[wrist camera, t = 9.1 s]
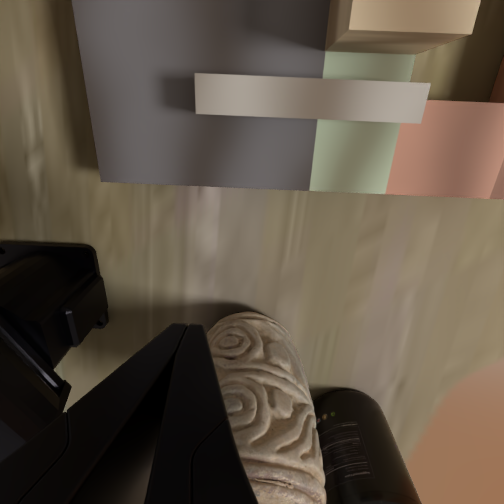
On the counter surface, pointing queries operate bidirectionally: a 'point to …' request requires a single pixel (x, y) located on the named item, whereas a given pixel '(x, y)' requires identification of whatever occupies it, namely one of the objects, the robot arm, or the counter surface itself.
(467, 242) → the counter surface
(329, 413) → the supplement bottle
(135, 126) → the channel deck
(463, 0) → the maple block
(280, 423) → the carving
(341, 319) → the counter surface
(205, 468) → the robot arm
